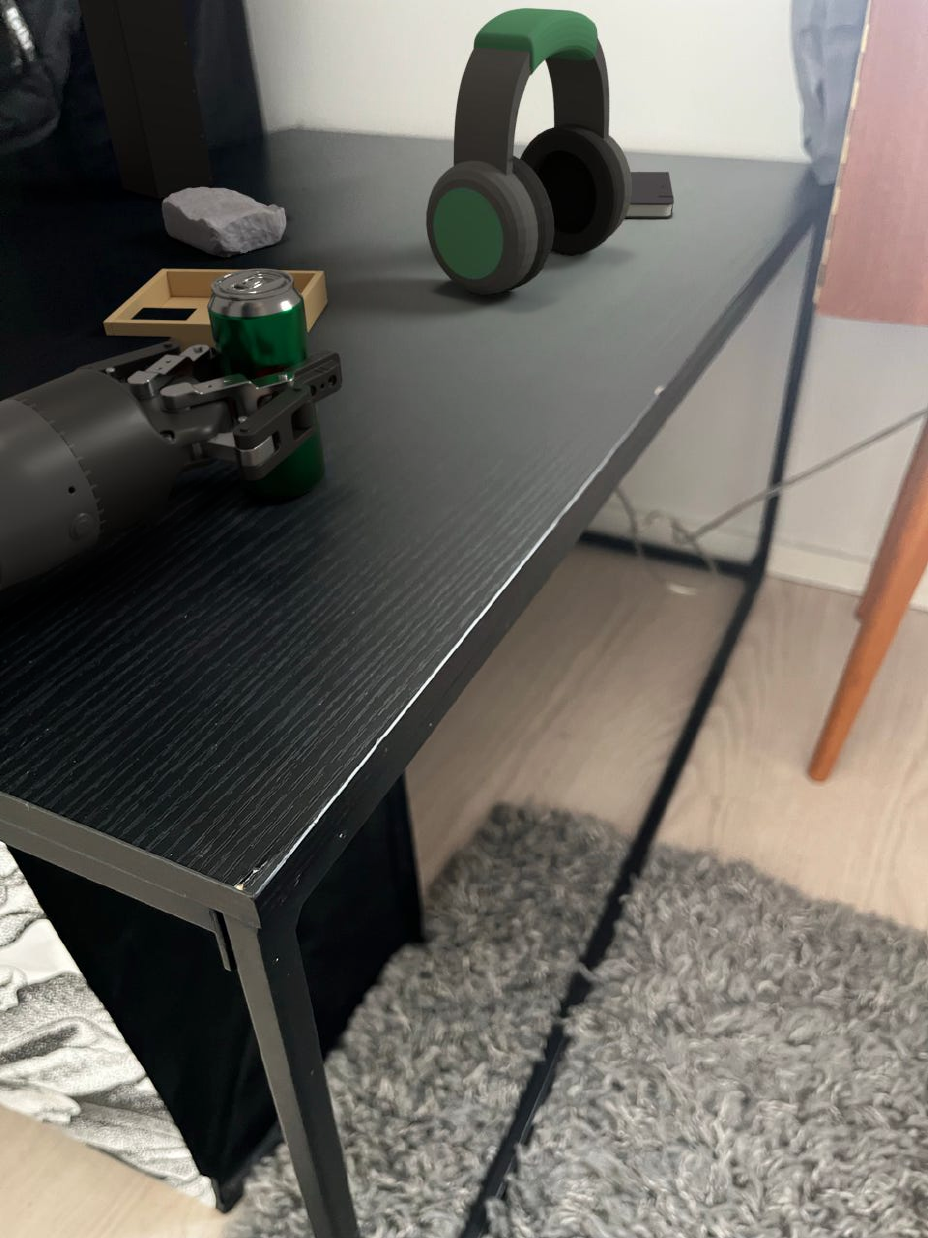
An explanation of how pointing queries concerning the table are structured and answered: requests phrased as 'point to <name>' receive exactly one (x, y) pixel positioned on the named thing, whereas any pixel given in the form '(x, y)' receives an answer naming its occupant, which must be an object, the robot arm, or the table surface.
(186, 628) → the table surface
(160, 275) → the tray
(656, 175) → the notebook
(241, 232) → the stone block
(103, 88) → the tall black block
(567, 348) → the table surface
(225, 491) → the table surface
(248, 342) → the soda can
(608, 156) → the headphones
